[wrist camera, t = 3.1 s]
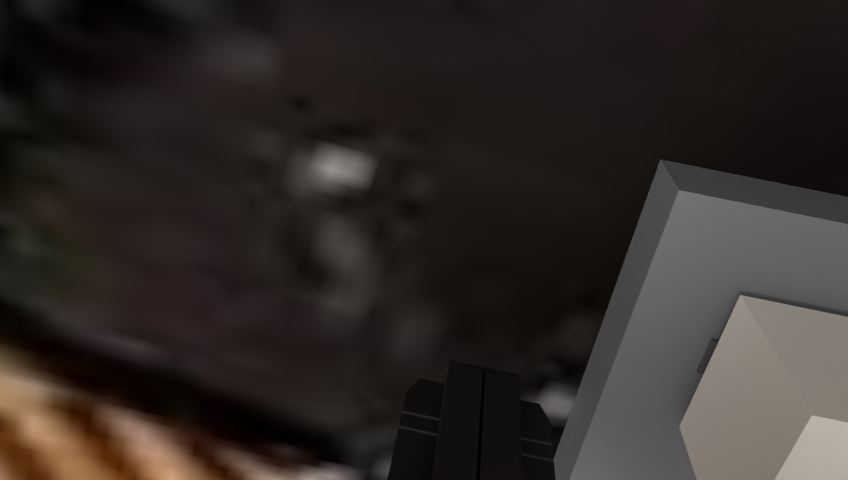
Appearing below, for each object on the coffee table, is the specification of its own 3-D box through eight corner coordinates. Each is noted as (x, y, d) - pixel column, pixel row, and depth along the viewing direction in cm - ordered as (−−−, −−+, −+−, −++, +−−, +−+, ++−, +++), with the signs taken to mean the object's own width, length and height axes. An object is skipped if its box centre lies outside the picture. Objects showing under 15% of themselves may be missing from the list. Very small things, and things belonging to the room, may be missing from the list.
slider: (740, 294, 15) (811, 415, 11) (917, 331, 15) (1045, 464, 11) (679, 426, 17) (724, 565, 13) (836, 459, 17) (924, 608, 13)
